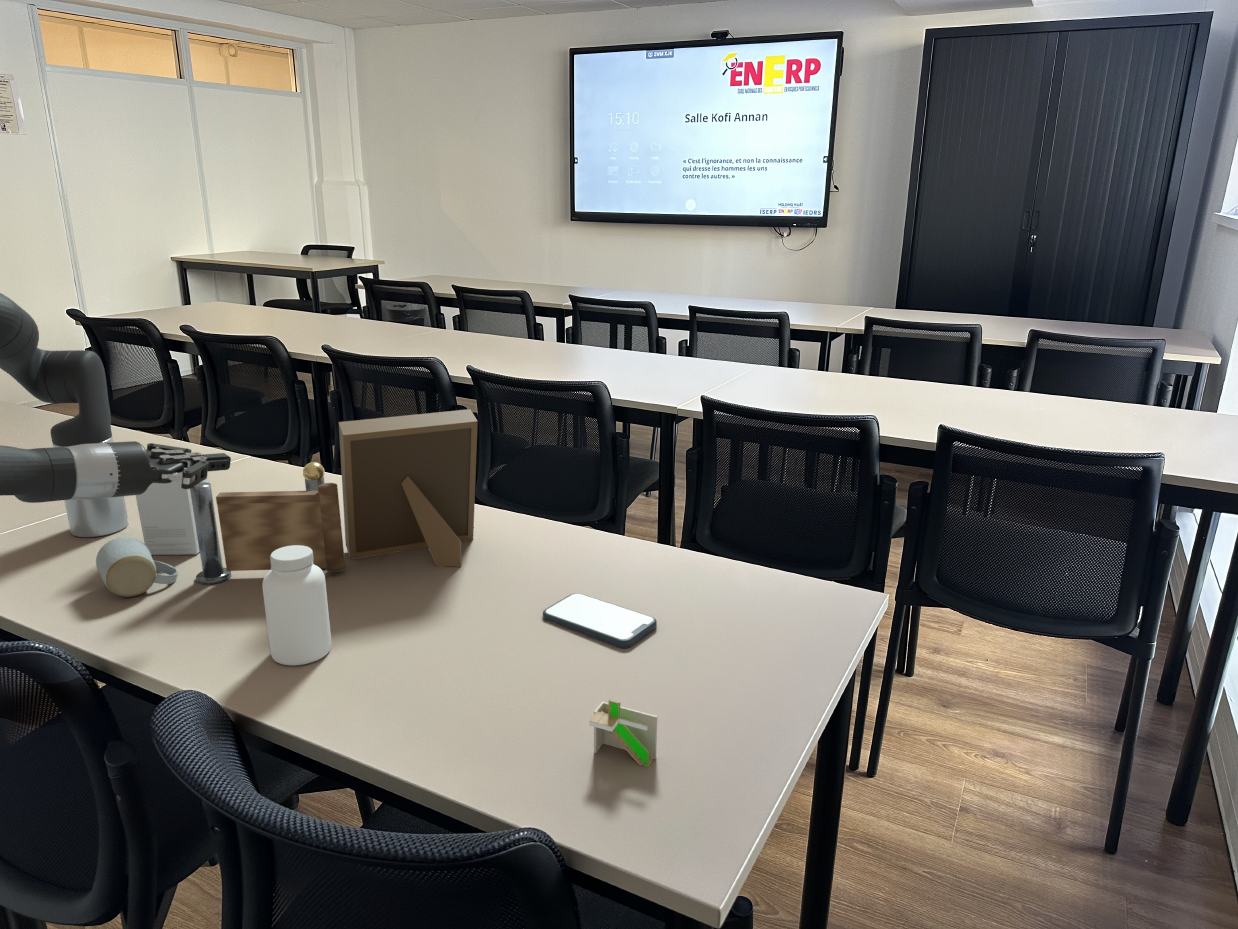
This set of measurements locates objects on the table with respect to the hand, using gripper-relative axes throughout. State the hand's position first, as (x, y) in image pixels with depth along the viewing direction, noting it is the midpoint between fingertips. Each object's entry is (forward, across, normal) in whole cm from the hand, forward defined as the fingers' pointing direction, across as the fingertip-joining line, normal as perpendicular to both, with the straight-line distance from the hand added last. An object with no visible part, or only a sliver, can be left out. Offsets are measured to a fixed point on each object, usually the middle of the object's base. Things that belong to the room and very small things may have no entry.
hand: (227, 461), depth 129 cm
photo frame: (+29, -14, +15) cm, 35 cm away
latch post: (+17, -4, +18) cm, 25 cm away
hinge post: (+2, +4, +22) cm, 23 cm away
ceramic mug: (-6, +10, +25) cm, 27 cm away
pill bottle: (-2, -28, +18) cm, 33 cm away
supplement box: (+5, +21, +24) cm, 33 cm away
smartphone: (+31, -52, +9) cm, 62 cm away
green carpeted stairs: (+9, -75, +9) cm, 76 cm away
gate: (+10, -4, +18) cm, 21 cm away
